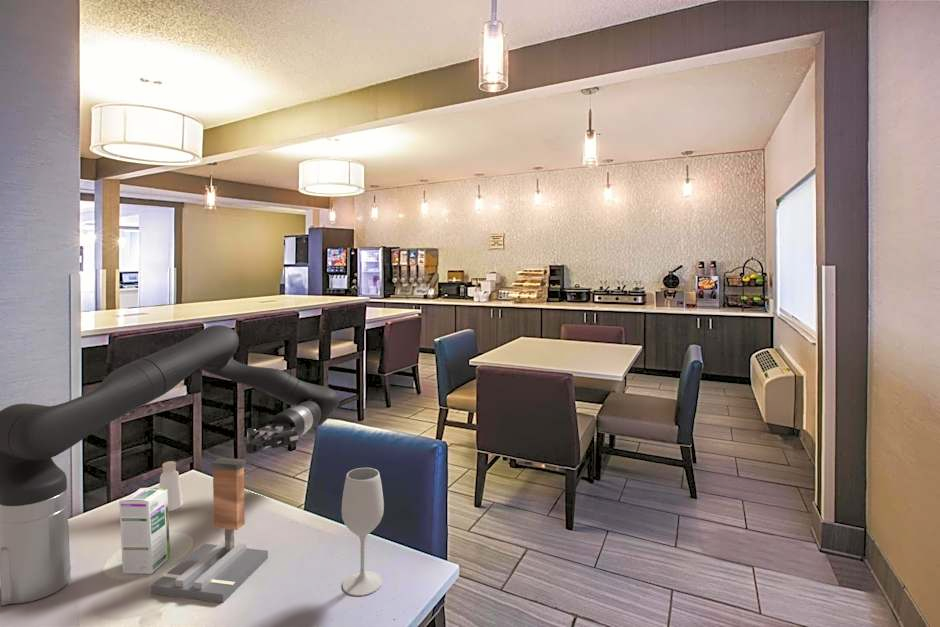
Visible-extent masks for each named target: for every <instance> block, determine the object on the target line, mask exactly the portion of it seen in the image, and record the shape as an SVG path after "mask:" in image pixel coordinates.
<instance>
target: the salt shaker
mask: <svg viewBox="0 0 940 627" xmlns="http://www.w3.org/2000/svg"><path fill="white" fill-rule="evenodd" d="M176 465H177V462H176V461H175V460H170V461H165V462H163V463H162V465H161V466H162V472H161V474H160V477H159V487H158V488H164V489H167V494H168V512H172V511H175V510H178V509H180V508H181V507H182V505H183V504H184V503H183V501H184V500H183V494H182V488H181V480H180V474H179V471H178V470H176V468H177V466H176Z"/></svg>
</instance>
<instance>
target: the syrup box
mask: <svg viewBox="0 0 940 627" xmlns="http://www.w3.org/2000/svg"><path fill="white" fill-rule="evenodd" d="M169 517H170V516H169V511H168V494H167V489H164V488H159V487H139V489H138V490H136V491H135V492H133V493H131V494H129V495H128V496H126V497H124V498H123V499H121V500H119V520H120V523H119V524H120V541H121V543H120V545H121V560H122V561H121V562H122V563H121V564H122V573H123V574H131V575H152V574H154V572H155V571H156V570H157V569H159V568H160V567H161V566H162V565H163V564H164V563H165V562H167V560H169V559H170V557H171V547H170V546H171V544H170V542H171V541H170V523H169V521H170V520H169Z"/></svg>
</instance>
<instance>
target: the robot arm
mask: <svg viewBox="0 0 940 627" xmlns="http://www.w3.org/2000/svg"><path fill="white" fill-rule="evenodd" d="M239 343H240V338H239V336H238V333H237V332H236V331H235V330H234V328H233V329H232V327H229V326H227V325H221V324H219V325H217V324H216V325H211V326H207V327H205V328H204V329H202V330H200V331H198V332H197V333H195V334H193V335H192V336H189V337H188V338H185V339H184V340H182V341H181V342H178V343H175V344H173V345H170V346H168V347H165V348H163V349H160V350H158V351H156V352H153V353H152V354H148V355H146V356H144V357H141V358H139V359H136V360H134V361H132V362H129V363H127V364H124V365H122V366H120V367H118V368H116V369H114V370H113V371H112V372H110V373H109V374H108V375H107V376H106V377H105V378H104V379H103V380H102V381H101V382H100V383H99V384H98V386H97V387H96V388H94V389H93V390H91V391H89V392H88V393H86V394H83V395H80V396H78V397H76V398H74V399H71V400H69V401H66V402H62V403H60V404H55V405H44V404H43V405H41V404H36V403H34V404H33V403H14V404H11V405H9V406H7V407H5V408H3V409H2V410H0V606H6V605H9V604H25V603H29V602H33V601H36V600H41V599H43V598H46V597H48V596H50V595H52V594H55V593H56V592H58V591H60V590H61V589H63V588H64V587H65V586H66V585H68V583H69V581H70V580H71V578H72V577H71V576H72V575H71V571H72V570H71V557H70V556H71V555H70V551H71V550H70V530H69V527H70V526H69V504H68V501H69V500H68V481H67V480H68V479H67V478H68V477H67V474H66V472H65V471H63V469H61V468H60V467H59V466H58V465H57V464H56V463H55V462H54V460H53V458H55V457H56V456H59V455H60V454H62V453H64V452H66V451H67V450H69V449H70V448H72V447H73V446H75V445H77V444H78V443H80V442H81V441H83V440H84V439H86V438H87V437H89V436H90V435H92V434H93V433H95V432H96V431H98V430H99V429H101V428H103V427H105V426H106V425H107V424H109V423H111V422H113V421H115V420H117V419H120V418H121V417H123V416H125V415H127V414H129V413H130V412H132V411H134V410H136V409H139V408H140V407H143V406H145V405H147V404H149V403H151V402H153V401H154V400H156V399H159V398H160V397H162V396H164V395H166V394H167V393H168V392H170V391H171V390H173V389H174V388H175V387H177V386H178V385H179V384H180V383H181V382H183V381H184V380H186V378H187V377H189V376H190V375H191V374H192V373H193V372H194V371H196V370H197V369H199V370H201V371H204V372H206V373H209V374H211V375H214V376H218V377H221V378H223V379H226V380H228V381H229V380H230V381H231V382H236V383H237V384H242V385H244V386H247V387H250V388H253V389H256V390H259V391H260V392H263V393H266V394H268V395H269V396H271V397H274V398H275V399H277V400H279V401H281V402H283V403H284V404H285V403H286V404H287V405H290V407H289V408H286V409H285V410H283V411H281V412H279V413H277V414H276V415H274V416H272V417H271V418H270V420H269V421H268V423H267V424H266V425H264V426H262V427H260V428H259V429H258V430H256V429H254V428H253V427H249V428H247V429H246V435H247V436H246V437H247V438H246V439H247V443H245V448H246V449H245V451H246V453H247V454H253V455H254V454H256V453H257V452H260V451H261V450H263V449H265V450H266V449H269V448H270V447H271V448H272V449H277V448H281V447H285V446H289V445H295V444H298V442H299V438H300V437H302V436H303V435H305V434H306V433H307V432H308V431H309V430H311V429H312V428H314V427H315V428H316V427H319V426H322V425H323V424H324V423H326V421H327V420H328V419H329V418H330V416H331V415H332V414H333V412H334V411H335V410H336V409H337V407H338V405H339V404H340V397H339V396H340V395H338V393H337V392H336V391H335V390H334V389H332V388H330V387H326V386H324V385H318V384H315V383H311V382H306V381H304V380H300V379H299V378H297V377H295V376H293V375H292V374H289V373H288V372H286V371H283V370H281V369H277V368H272V367H262V366H254V365H249V364H245V363H241V362H240V361H237V360H235V359H233V358H232V357H233V356H234V355H235V354H236V351H238V350H237V349H238V348H239V345H240V344H239ZM306 399H309V400H307V401H305V400H306ZM303 400H304V401H303Z"/></svg>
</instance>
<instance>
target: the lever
mask: <svg viewBox="0 0 940 627" xmlns="http://www.w3.org/2000/svg"><path fill="white" fill-rule="evenodd" d="M245 466H246V459H240V458H231V457H229V458H228V457H219V458H217V459H215V460H214V461H212V462H210V467H211V470H212V488H213V489H212V490H213V493H212V496H213V501H212V502H213V528H215V529H224V542H225V552H226V553H228V552H229V551H230V550H232V549H233V548H234V547H235V531H238V530H239V529H240V528H241V527H244V525H245V524H246V523H245V520H246V519H245Z"/></svg>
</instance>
